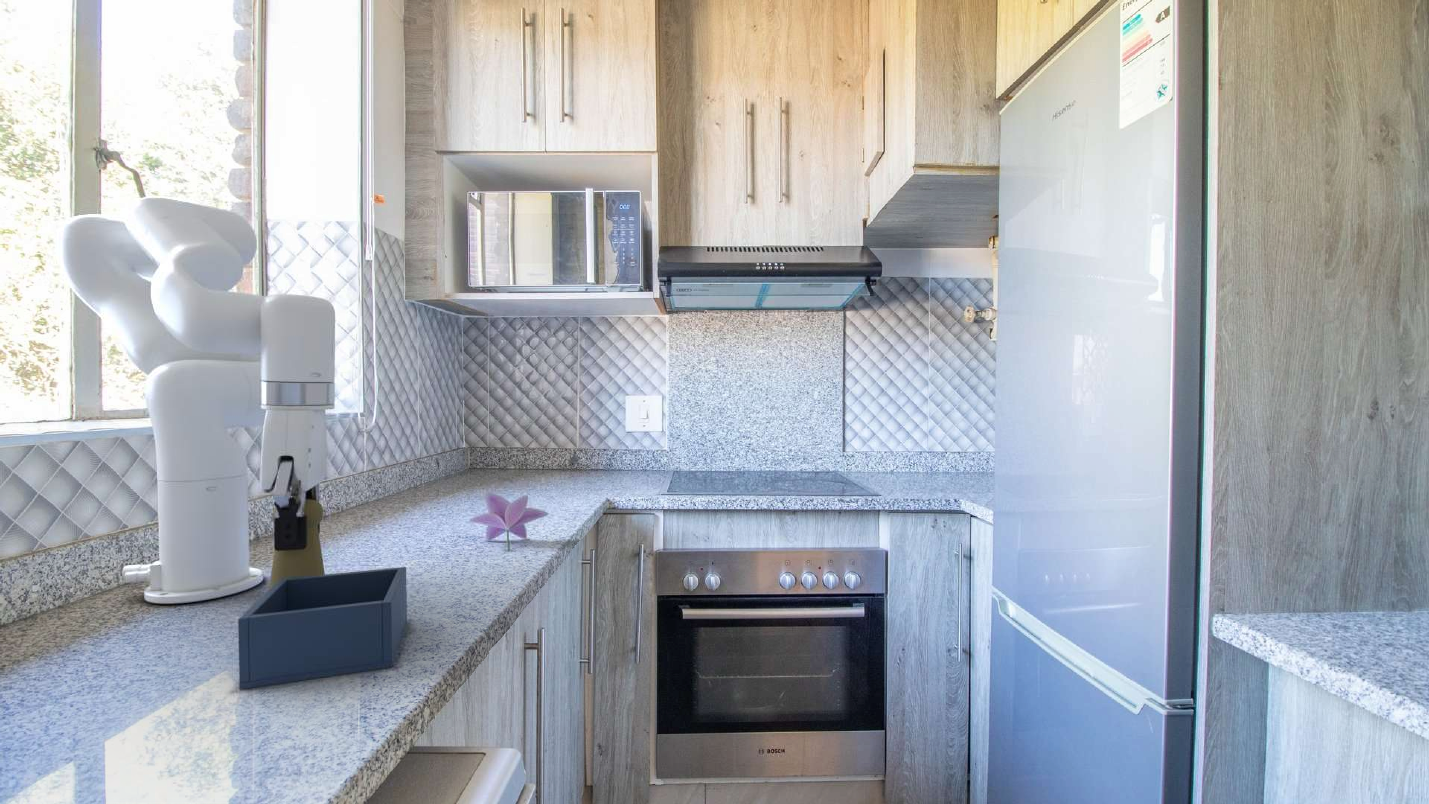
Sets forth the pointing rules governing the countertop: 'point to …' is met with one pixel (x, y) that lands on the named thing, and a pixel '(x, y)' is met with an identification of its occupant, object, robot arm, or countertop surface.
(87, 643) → the countertop surface
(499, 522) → the lily
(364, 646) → the bin
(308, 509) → the cork
